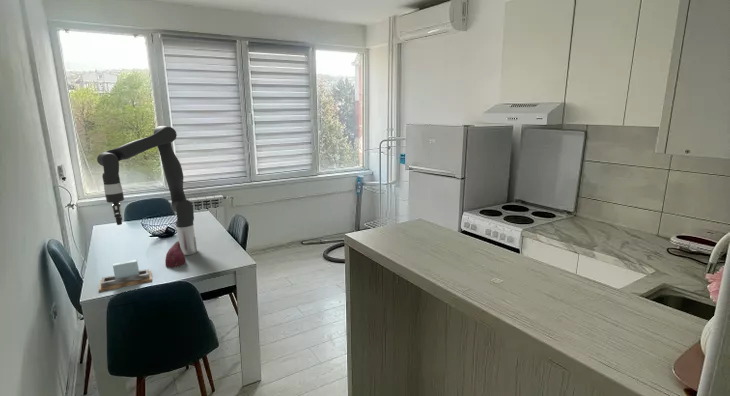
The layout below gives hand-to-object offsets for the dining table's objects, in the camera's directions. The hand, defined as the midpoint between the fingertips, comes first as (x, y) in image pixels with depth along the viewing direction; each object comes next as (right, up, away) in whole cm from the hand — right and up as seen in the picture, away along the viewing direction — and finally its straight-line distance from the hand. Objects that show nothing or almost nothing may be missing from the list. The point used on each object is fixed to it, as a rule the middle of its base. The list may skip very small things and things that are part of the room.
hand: (119, 222), depth 192 cm
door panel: (+8, -28, -6) cm, 30 cm away
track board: (+8, -29, -6) cm, 31 cm away
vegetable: (+21, -24, +15) cm, 36 cm away
